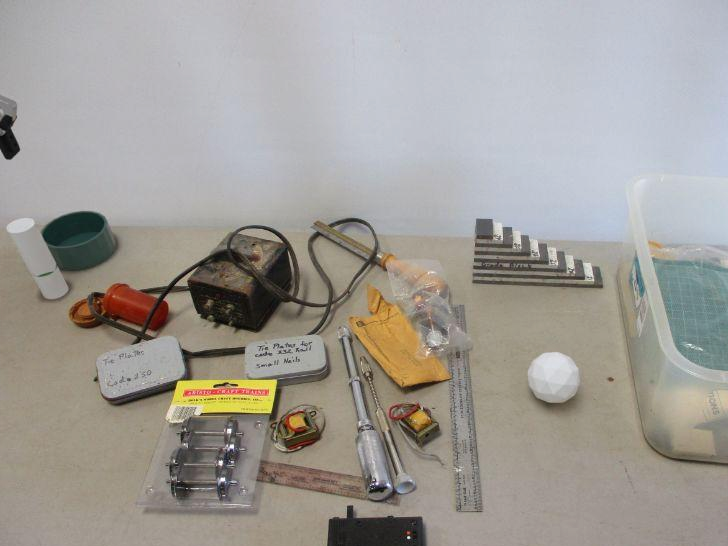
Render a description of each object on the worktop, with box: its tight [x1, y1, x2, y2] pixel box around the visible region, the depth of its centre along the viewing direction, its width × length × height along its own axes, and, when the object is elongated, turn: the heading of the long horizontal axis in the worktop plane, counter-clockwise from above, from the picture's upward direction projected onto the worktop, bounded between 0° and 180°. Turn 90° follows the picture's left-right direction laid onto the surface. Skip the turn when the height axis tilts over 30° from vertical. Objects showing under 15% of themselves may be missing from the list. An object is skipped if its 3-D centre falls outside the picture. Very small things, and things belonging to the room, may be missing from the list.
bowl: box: [40, 210, 117, 271], centre depth 116 cm, size 12×12×6 cm
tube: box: [5, 217, 69, 300], centre depth 104 cm, size 4×4×15 cm
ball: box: [526, 351, 581, 404], centre depth 90 cm, size 8×8×8 cm
